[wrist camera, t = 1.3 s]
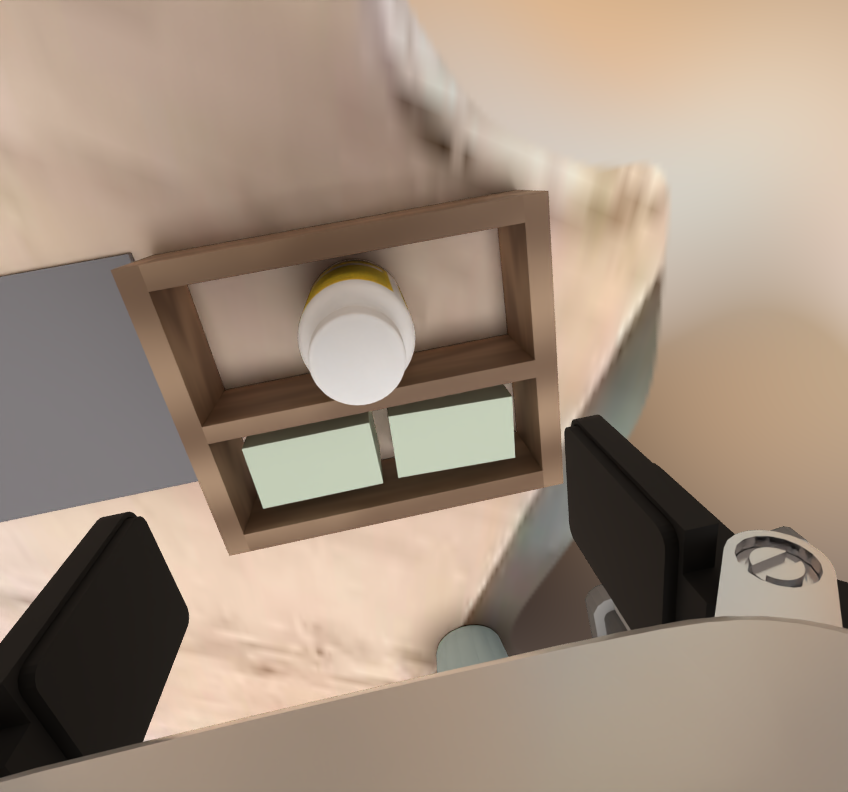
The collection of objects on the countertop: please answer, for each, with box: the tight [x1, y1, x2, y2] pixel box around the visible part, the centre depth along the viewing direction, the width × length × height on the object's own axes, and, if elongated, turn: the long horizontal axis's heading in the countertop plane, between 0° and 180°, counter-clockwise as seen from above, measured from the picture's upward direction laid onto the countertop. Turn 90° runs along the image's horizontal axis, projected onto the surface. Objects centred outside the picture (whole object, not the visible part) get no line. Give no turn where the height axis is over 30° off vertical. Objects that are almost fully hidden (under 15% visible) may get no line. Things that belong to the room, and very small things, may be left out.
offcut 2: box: [387, 384, 515, 478], centre depth 30 cm, size 4×7×4 cm, turn 97°
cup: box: [436, 625, 508, 673], centre depth 36 cm, size 8×8×10 cm
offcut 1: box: [242, 411, 383, 509], centre depth 30 cm, size 4×7×4 cm, turn 99°
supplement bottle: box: [298, 259, 415, 405], centre depth 24 cm, size 5×5×10 cm
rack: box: [111, 190, 563, 556], centre depth 28 cm, size 16×20×5 cm
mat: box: [0, 253, 198, 522], centre depth 28 cm, size 14×14×1 cm
